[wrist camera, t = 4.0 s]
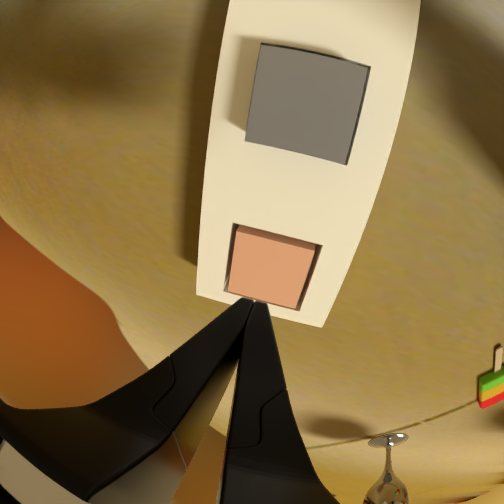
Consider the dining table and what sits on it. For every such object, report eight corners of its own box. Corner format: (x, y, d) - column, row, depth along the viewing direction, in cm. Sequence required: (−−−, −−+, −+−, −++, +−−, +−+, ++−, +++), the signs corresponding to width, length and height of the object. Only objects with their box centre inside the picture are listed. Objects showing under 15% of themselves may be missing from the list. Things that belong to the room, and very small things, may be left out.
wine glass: (406, 445, 37) (405, 517, 24) (364, 450, 39) (358, 522, 27) (414, 429, 33) (415, 512, 21) (367, 435, 36) (360, 519, 23)
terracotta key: (315, 232, 20) (315, 251, 17) (298, 287, 22) (295, 308, 20) (245, 214, 20) (236, 231, 18) (236, 271, 23) (227, 291, 21)
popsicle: (477, 401, 28) (479, 411, 27) (477, 352, 23) (482, 364, 22) (506, 387, 26) (509, 396, 24) (515, 332, 21) (520, 343, 19)
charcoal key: (360, 71, 12) (367, 68, 10) (341, 153, 15) (344, 164, 13) (269, 51, 13) (260, 44, 11) (255, 133, 15) (244, 140, 13)
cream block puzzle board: (412, -57, 7) (423, -72, 4) (322, 303, 23) (321, 327, 21) (265, -86, 8) (257, -105, 5) (208, 273, 24) (196, 294, 22)
